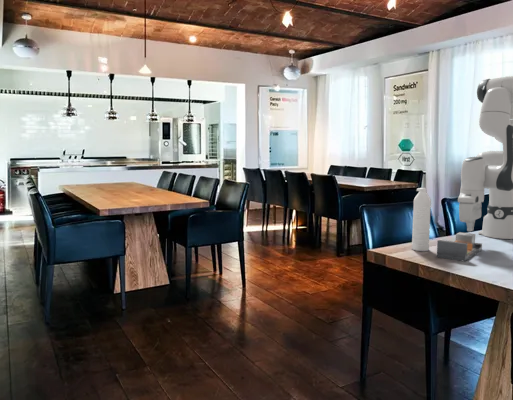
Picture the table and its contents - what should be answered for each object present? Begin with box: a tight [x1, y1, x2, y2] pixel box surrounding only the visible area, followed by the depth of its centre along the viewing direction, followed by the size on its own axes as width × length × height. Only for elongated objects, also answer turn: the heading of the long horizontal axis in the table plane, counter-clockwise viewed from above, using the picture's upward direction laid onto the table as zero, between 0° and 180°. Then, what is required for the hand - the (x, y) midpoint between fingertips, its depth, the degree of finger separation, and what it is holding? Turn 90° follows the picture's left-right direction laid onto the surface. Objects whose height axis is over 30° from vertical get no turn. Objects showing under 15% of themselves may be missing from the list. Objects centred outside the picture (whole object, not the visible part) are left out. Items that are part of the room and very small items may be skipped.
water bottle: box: [411, 187, 432, 252], centre depth 180 cm, size 9×6×25 cm
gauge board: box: [436, 239, 483, 262], centre depth 177 cm, size 24×10×6 cm, turn 141°
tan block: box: [454, 231, 476, 248], centre depth 181 cm, size 5×6×5 cm
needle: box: [460, 242, 473, 250], centre depth 179 cm, size 2×7×2 cm, turn 51°
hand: (470, 231), depth 185 cm, fingers closed
